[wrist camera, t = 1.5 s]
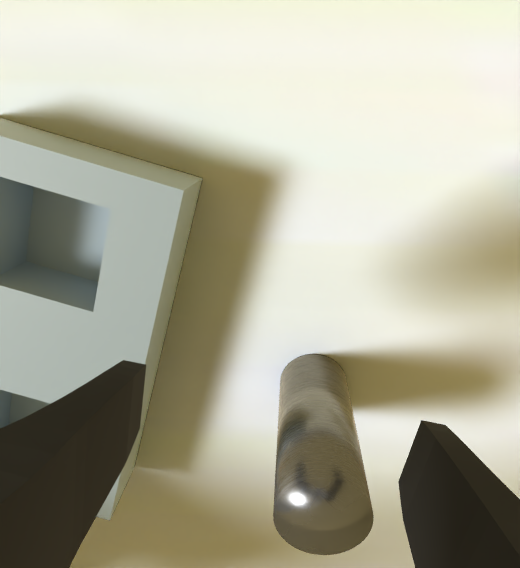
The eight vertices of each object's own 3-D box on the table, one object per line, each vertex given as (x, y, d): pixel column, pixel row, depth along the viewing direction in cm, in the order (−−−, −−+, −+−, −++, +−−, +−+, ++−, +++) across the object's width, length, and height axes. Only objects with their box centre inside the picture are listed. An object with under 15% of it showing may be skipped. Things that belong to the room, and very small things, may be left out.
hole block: (134, 467, 25) (109, 520, 22) (-29, 421, 25) (-79, 469, 21) (202, 178, 19) (183, 190, 16) (-7, 115, 19) (-70, 115, 16)
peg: (333, 418, 23) (352, 565, 15) (272, 401, 23) (261, 539, 15) (355, 364, 22) (388, 494, 14) (291, 346, 22) (290, 467, 14)
